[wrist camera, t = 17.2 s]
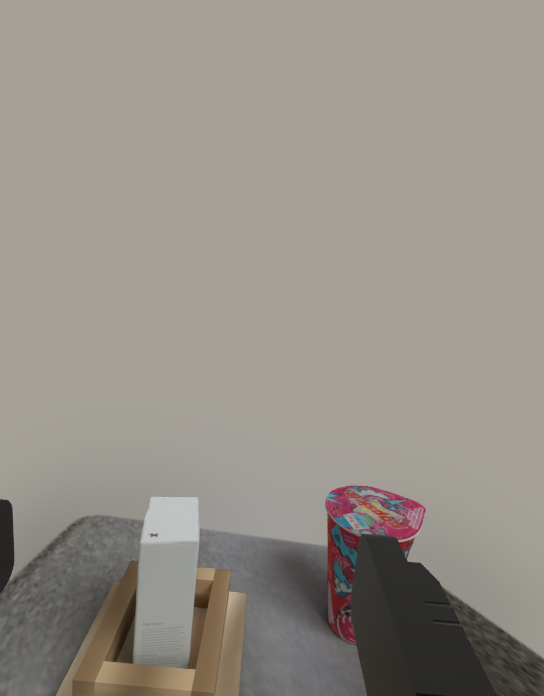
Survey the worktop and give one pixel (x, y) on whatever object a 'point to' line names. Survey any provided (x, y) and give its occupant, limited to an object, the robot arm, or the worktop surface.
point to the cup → (343, 539)
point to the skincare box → (166, 582)
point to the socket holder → (155, 681)
